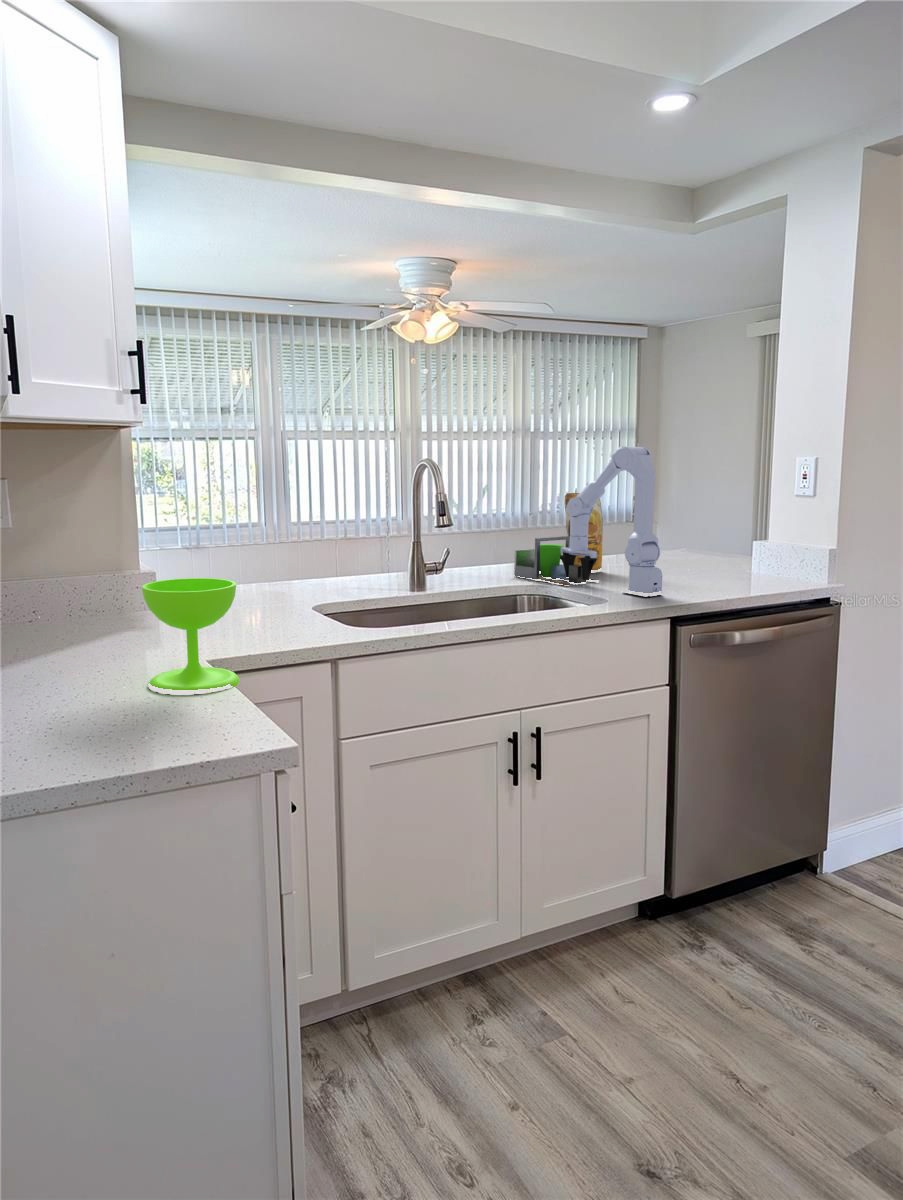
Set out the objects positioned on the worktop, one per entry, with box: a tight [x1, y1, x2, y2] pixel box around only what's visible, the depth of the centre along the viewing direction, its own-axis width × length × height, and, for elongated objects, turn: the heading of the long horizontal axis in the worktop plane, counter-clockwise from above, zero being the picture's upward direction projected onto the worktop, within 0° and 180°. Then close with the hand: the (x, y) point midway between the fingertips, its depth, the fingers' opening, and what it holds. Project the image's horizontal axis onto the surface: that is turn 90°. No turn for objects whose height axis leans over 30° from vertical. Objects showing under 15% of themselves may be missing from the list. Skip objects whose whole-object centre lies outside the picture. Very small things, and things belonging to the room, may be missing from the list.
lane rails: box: [537, 576, 599, 586], centre depth 273 cm, size 15×14×1 cm
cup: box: [540, 543, 564, 577], centre depth 280 cm, size 9×9×11 cm
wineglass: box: [141, 577, 241, 690], centre depth 150 cm, size 16×16×18 cm
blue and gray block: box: [551, 564, 587, 583], centre depth 272 cm, size 11×6×6 cm, turn 35°
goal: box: [513, 535, 570, 579], centre depth 282 cm, size 11×15×14 cm
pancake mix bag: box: [563, 492, 604, 570], centre depth 292 cm, size 7×19×28 cm, turn 124°
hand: (577, 578), depth 269 cm, fingers open, 7 cm apart
